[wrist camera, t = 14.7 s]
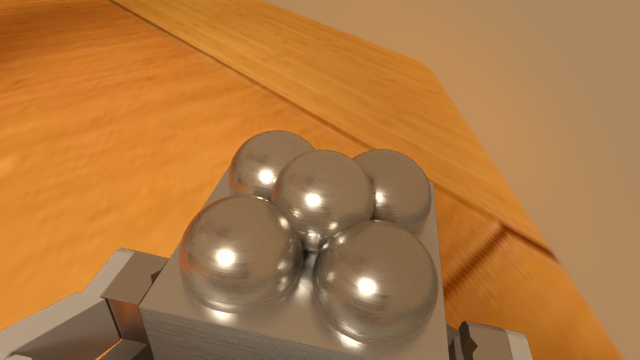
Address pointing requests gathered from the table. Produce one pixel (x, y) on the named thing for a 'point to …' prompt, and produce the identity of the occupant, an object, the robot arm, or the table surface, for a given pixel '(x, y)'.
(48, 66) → the table surface
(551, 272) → the table surface
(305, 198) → the ball-topped square pillar
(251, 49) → the table surface
